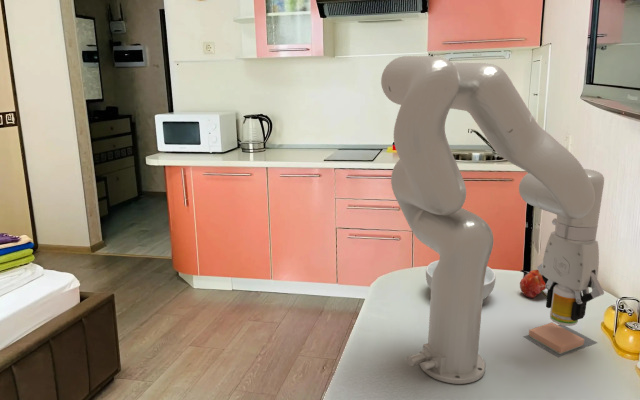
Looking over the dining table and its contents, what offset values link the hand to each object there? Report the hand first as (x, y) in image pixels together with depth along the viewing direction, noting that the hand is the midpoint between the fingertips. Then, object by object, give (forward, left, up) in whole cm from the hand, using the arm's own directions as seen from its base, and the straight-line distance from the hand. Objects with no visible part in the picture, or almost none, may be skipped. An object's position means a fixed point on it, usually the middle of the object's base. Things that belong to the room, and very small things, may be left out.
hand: (564, 311), depth 111 cm
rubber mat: (0, 0, -7) cm, 7 cm away
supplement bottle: (0, 0, -2) cm, 2 cm away
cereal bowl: (-5, +26, -7) cm, 28 cm away
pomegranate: (+12, +17, -7) cm, 22 cm away
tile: (+2, 0, -6) cm, 6 cm away
